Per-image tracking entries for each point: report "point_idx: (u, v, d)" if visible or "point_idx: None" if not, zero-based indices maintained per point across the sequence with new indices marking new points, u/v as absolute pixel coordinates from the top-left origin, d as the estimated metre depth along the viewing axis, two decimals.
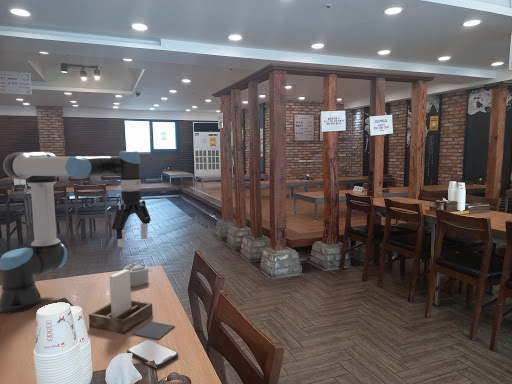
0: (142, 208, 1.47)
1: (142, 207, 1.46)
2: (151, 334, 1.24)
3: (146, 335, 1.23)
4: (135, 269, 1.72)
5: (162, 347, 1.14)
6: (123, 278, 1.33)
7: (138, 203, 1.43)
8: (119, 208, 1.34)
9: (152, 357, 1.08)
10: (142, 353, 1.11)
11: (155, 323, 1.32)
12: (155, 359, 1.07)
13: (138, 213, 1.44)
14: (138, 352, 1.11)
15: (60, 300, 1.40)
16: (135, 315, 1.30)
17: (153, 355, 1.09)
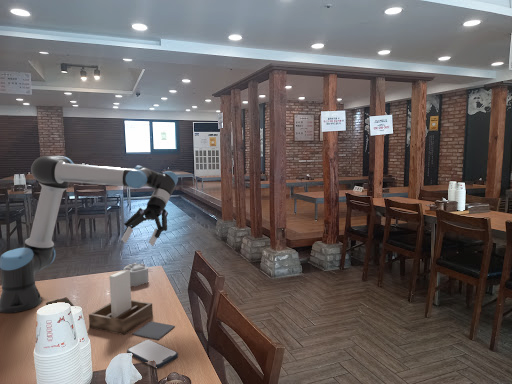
0: (138, 215, 1.53)
1: (139, 215, 1.53)
2: (151, 334, 1.24)
3: (146, 335, 1.23)
4: (135, 269, 1.72)
5: (162, 347, 1.14)
6: (123, 278, 1.33)
7: None
8: (165, 213, 1.49)
9: (151, 357, 1.08)
10: (142, 353, 1.11)
11: (155, 323, 1.32)
12: (155, 359, 1.07)
13: (142, 219, 1.51)
14: (138, 352, 1.12)
15: (61, 300, 1.40)
16: (135, 315, 1.30)
17: (153, 355, 1.09)
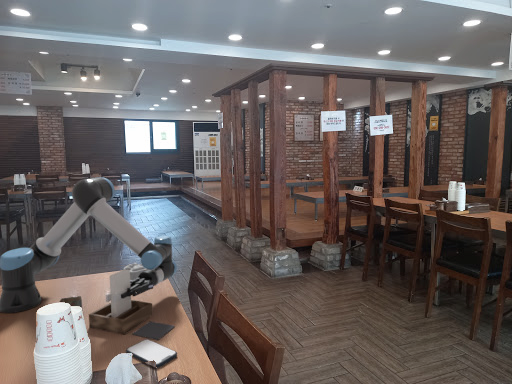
0: None
1: None
2: (151, 334, 1.24)
3: (146, 335, 1.23)
4: (135, 269, 1.72)
5: (161, 347, 1.14)
6: (123, 278, 1.33)
7: None
8: (149, 286, 1.41)
9: (151, 357, 1.09)
10: (141, 353, 1.11)
11: (155, 323, 1.32)
12: (154, 359, 1.07)
13: (131, 286, 1.41)
14: (137, 352, 1.12)
15: (73, 298, 1.41)
16: (135, 315, 1.30)
17: (152, 355, 1.10)
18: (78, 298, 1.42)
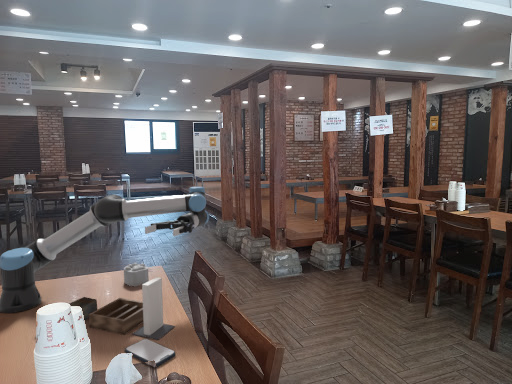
0: None
1: None
2: (151, 334, 1.24)
3: (146, 335, 1.23)
4: (135, 269, 1.72)
5: (160, 346, 1.15)
6: (156, 287, 1.26)
7: None
8: (193, 225, 1.55)
9: (149, 356, 1.09)
10: (140, 352, 1.11)
11: None
12: (153, 358, 1.08)
13: (168, 226, 1.56)
14: (136, 351, 1.12)
15: (86, 300, 1.39)
16: (135, 315, 1.30)
17: (151, 354, 1.10)
18: (90, 301, 1.39)
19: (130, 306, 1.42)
